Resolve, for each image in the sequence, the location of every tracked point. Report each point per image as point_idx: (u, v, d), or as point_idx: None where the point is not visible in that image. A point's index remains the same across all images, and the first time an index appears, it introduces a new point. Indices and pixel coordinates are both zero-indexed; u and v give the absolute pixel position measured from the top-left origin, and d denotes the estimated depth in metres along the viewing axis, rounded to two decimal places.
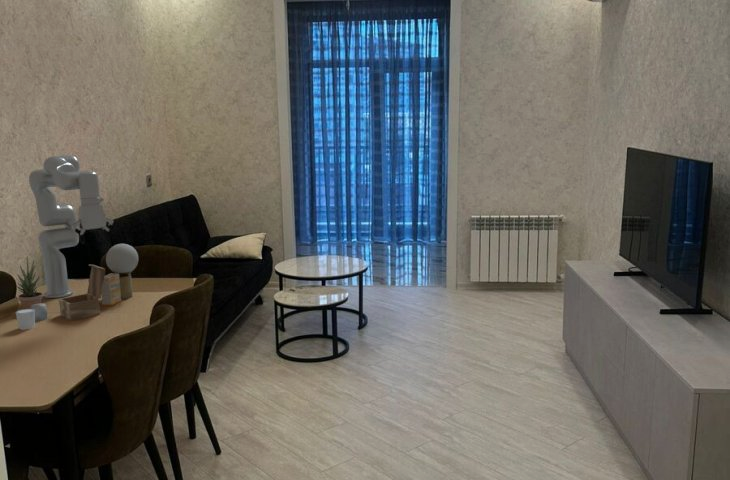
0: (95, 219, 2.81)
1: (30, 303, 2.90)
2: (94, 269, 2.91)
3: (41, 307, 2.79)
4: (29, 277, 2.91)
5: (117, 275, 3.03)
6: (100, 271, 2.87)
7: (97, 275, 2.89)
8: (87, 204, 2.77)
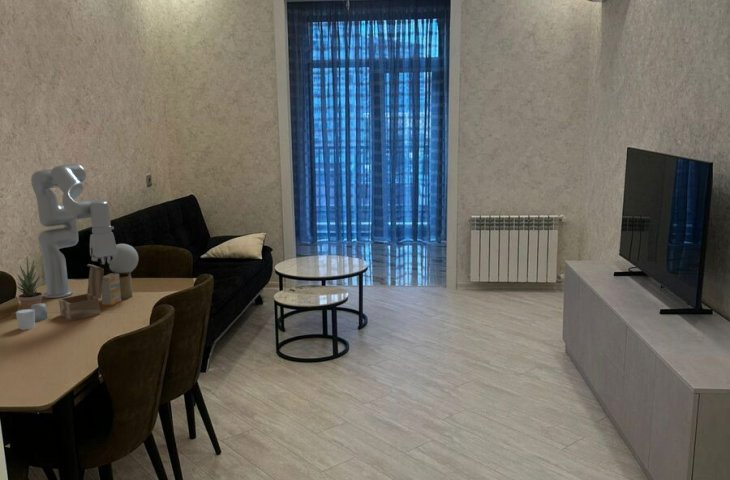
0: (106, 247, 2.86)
1: (30, 303, 2.90)
2: (93, 269, 2.91)
3: (41, 307, 2.79)
4: (29, 277, 2.91)
5: (117, 275, 3.03)
6: (99, 271, 2.86)
7: (96, 275, 2.88)
8: (99, 233, 2.82)
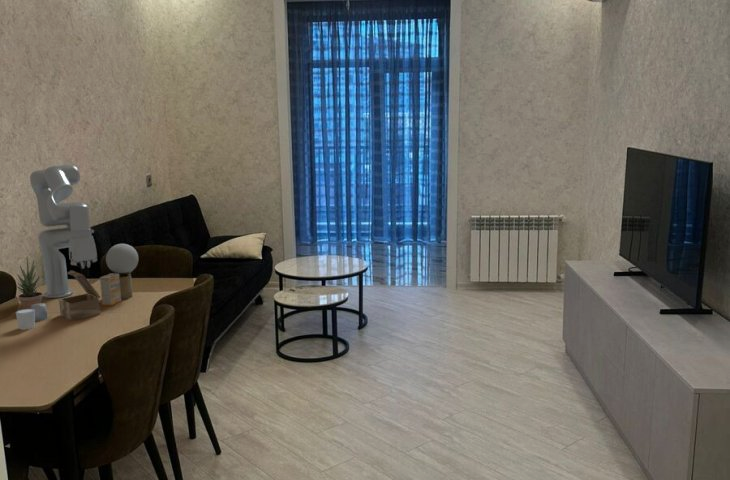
0: (86, 251, 2.80)
1: (30, 303, 2.90)
2: None
3: (41, 307, 2.79)
4: (29, 277, 2.91)
5: (117, 275, 3.03)
6: (81, 277, 2.81)
7: (81, 280, 2.84)
8: (78, 237, 2.76)
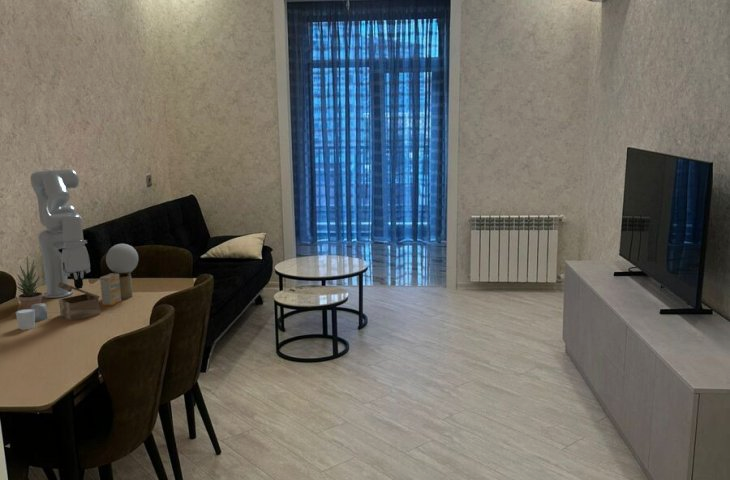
0: (79, 262, 2.78)
1: (30, 303, 2.90)
2: None
3: (41, 307, 2.79)
4: (29, 277, 2.91)
5: (117, 275, 3.03)
6: None
7: None
8: (71, 247, 2.74)
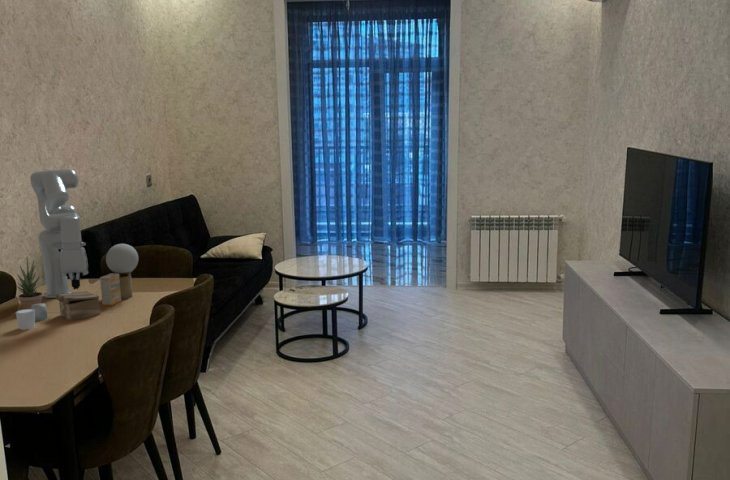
0: (73, 264, 2.77)
1: (30, 303, 2.90)
2: None
3: (41, 307, 2.79)
4: (29, 277, 2.91)
5: (117, 275, 3.03)
6: None
7: None
8: (64, 248, 2.75)
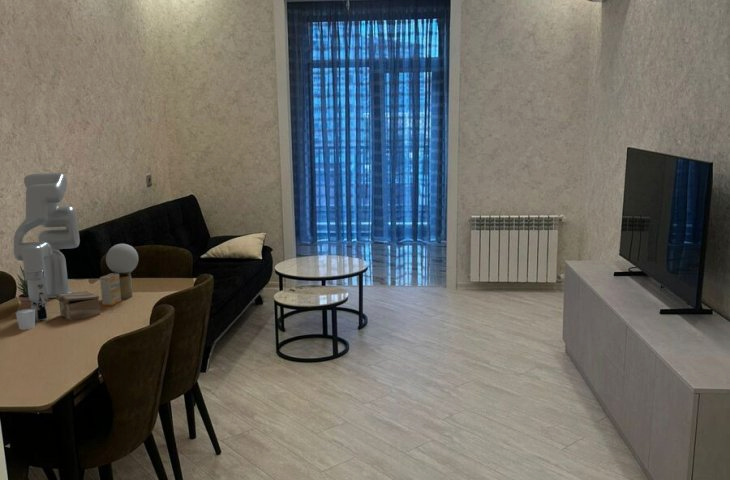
0: (31, 293, 2.78)
1: (30, 303, 2.90)
2: None
3: None
4: None
5: (117, 275, 3.03)
6: None
7: None
8: None
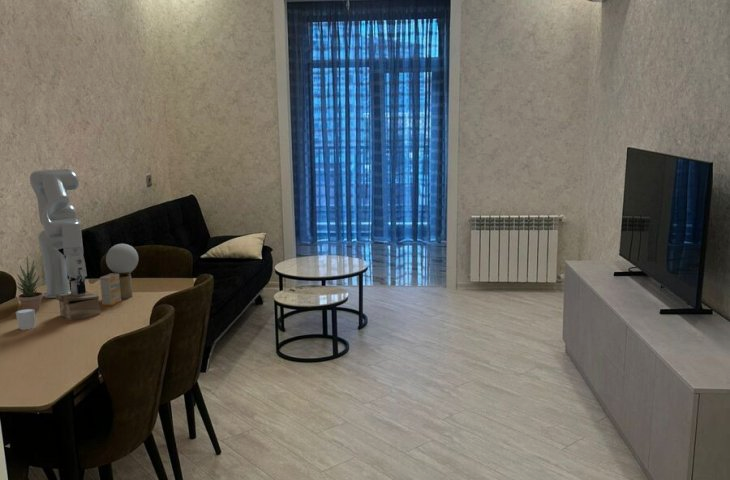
0: (69, 268, 2.81)
1: (30, 303, 2.90)
2: None
3: None
4: (29, 277, 2.91)
5: (117, 275, 3.03)
6: None
7: None
8: None
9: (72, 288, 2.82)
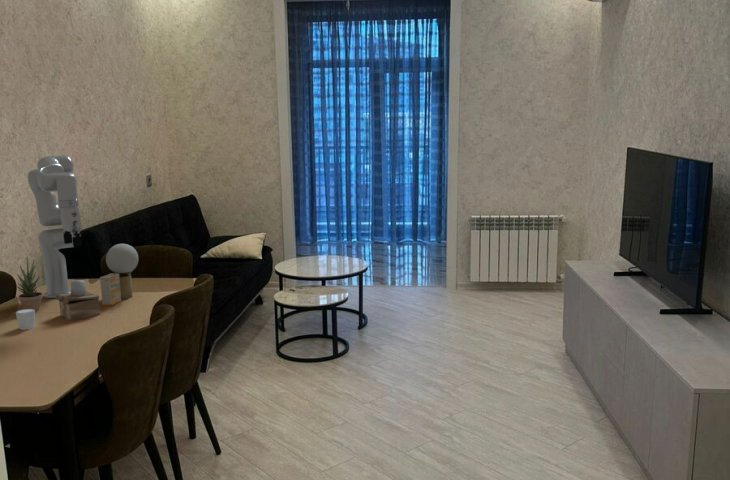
0: (64, 222, 2.77)
1: (30, 303, 2.90)
2: None
3: (81, 283, 2.82)
4: (29, 277, 2.91)
5: (117, 275, 3.03)
6: None
7: None
8: None
9: (72, 288, 2.82)
